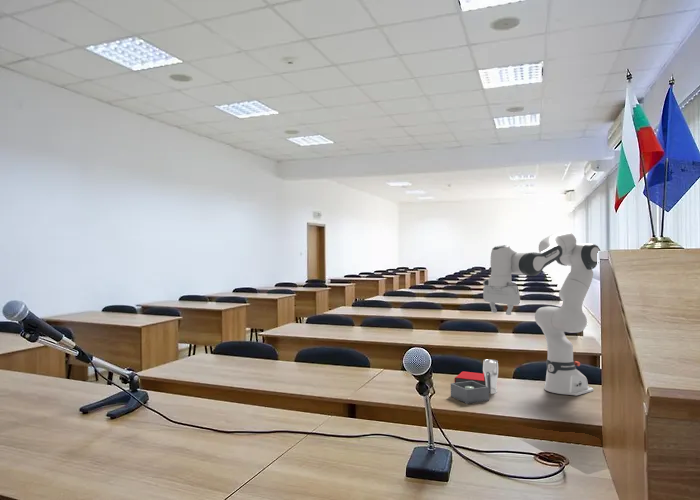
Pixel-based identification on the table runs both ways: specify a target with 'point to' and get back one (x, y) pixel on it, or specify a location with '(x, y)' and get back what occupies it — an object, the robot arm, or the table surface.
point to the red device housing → (470, 377)
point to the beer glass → (490, 374)
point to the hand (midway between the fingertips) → (501, 313)
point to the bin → (469, 392)
